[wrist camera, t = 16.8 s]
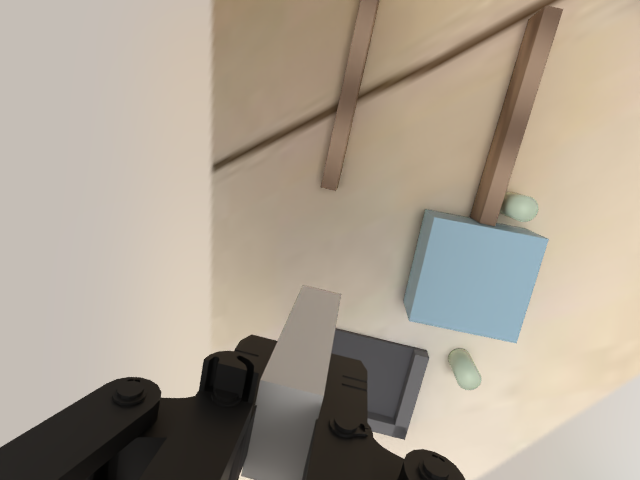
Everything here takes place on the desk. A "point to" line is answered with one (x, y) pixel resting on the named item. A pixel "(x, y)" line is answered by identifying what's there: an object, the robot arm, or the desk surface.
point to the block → (473, 275)
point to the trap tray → (386, 378)
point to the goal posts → (460, 358)
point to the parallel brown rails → (508, 125)
